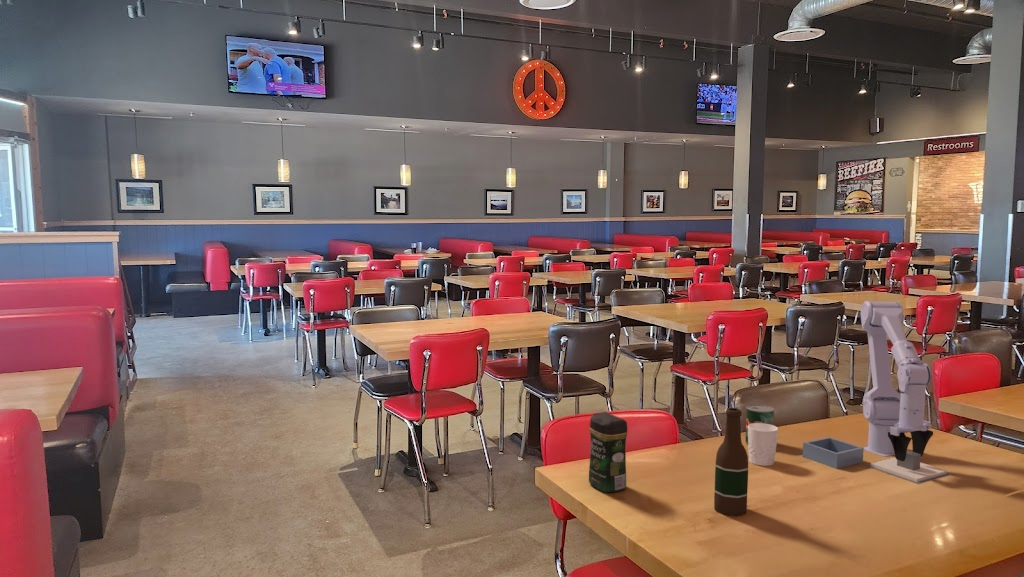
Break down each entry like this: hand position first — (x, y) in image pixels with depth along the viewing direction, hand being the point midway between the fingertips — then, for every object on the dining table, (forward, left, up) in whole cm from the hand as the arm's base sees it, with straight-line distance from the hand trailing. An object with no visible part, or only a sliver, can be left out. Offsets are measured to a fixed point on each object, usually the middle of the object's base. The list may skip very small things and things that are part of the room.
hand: (909, 457), depth 189 cm
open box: (+11, -15, -4) cm, 19 cm away
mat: (0, 0, -4) cm, 4 cm away
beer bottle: (+61, -4, -4) cm, 62 cm away
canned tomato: (+17, -36, -4) cm, 40 cm away
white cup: (+29, -24, -4) cm, 38 cm away
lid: (0, 0, -3) cm, 3 cm away
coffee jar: (+78, -29, -4) cm, 84 cm away
